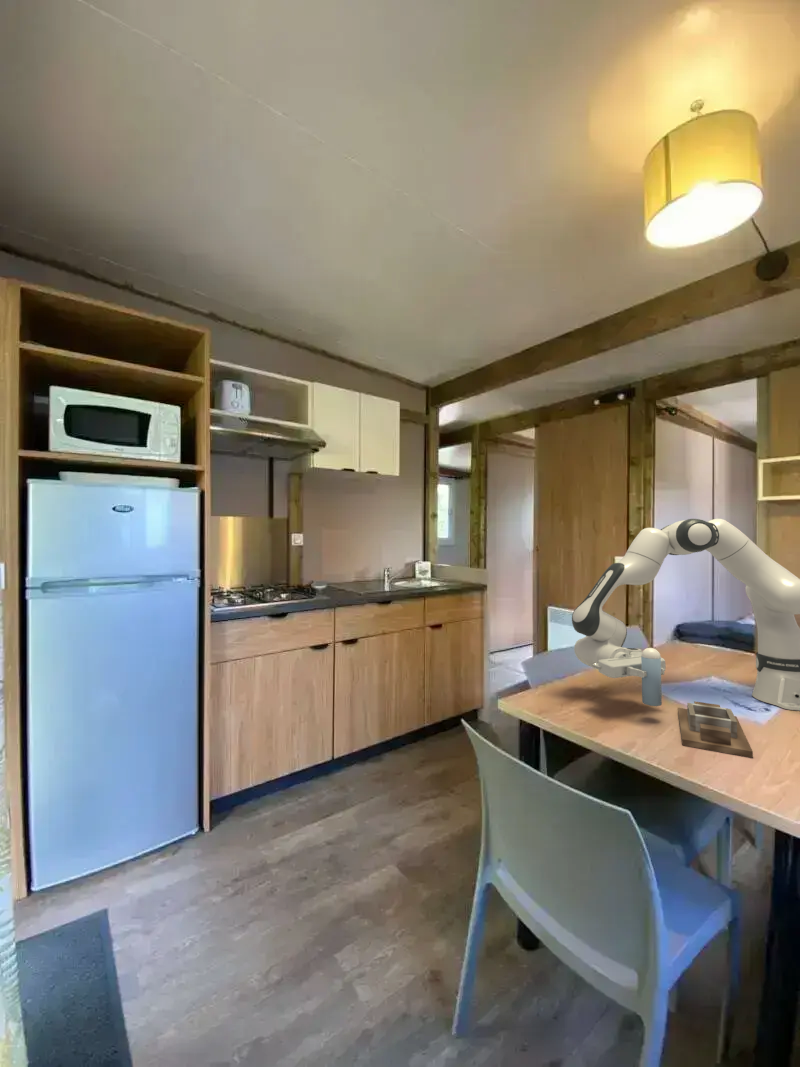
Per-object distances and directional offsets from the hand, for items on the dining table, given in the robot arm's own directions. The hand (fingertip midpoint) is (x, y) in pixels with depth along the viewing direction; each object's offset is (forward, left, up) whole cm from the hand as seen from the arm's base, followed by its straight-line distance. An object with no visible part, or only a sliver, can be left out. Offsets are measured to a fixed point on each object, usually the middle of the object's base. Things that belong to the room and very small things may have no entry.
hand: (653, 673), depth 129 cm
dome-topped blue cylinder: (+1, -1, -9) cm, 9 cm away
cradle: (-13, +1, -13) cm, 19 cm away
